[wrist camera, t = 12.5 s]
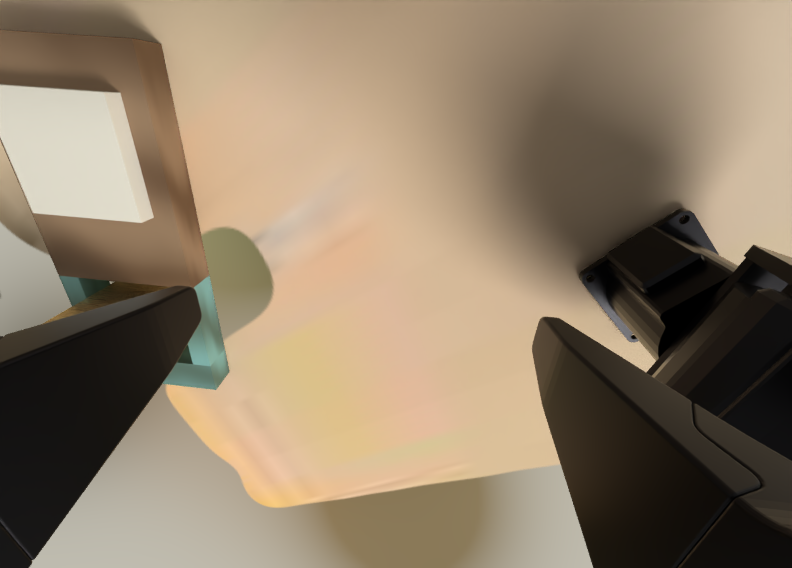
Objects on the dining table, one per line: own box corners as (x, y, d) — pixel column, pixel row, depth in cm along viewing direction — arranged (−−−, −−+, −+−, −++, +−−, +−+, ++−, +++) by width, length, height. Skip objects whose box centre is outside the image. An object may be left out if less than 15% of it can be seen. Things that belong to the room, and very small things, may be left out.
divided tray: (229, 371, 28) (208, 399, 26) (122, 359, 29) (91, 386, 26) (161, 44, 18) (115, 34, 16) (-3, 33, 19) (-75, 22, 16)
